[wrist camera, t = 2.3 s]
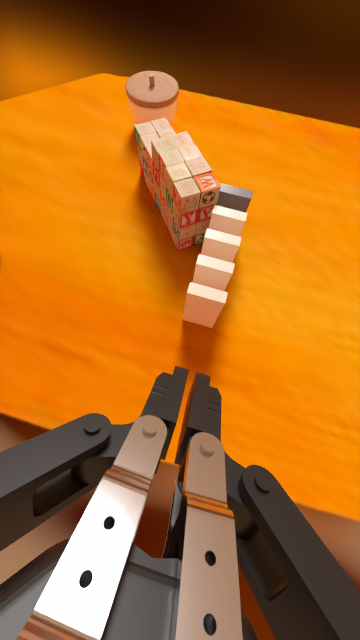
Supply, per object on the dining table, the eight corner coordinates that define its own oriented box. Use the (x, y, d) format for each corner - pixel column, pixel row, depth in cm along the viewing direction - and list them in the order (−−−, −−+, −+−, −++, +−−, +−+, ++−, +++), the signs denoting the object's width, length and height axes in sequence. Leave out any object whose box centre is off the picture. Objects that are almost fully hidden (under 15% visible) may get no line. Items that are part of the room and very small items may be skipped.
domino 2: (202, 254, 44) (211, 212, 34) (205, 247, 44) (214, 204, 35) (229, 261, 43) (245, 221, 34) (231, 254, 44) (247, 213, 35)
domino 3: (196, 274, 42) (204, 236, 33) (198, 267, 43) (207, 228, 33) (223, 282, 42) (239, 246, 33) (225, 274, 42) (241, 237, 33)
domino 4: (189, 296, 41) (195, 263, 31) (192, 288, 41) (199, 253, 32) (218, 304, 40) (232, 273, 31) (220, 296, 41) (235, 263, 32)
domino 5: (182, 319, 39) (186, 292, 30) (185, 311, 40) (190, 281, 30) (211, 328, 39) (225, 303, 30) (214, 319, 39) (227, 292, 30)
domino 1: (208, 235, 45) (218, 190, 36) (210, 228, 46) (221, 183, 36) (234, 242, 45) (251, 198, 36) (235, 235, 46) (252, 191, 36)
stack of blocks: (139, 172, 50) (130, 103, 39) (167, 165, 51) (166, 95, 40) (178, 252, 44) (181, 197, 32) (208, 242, 45) (222, 185, 33)
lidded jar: (123, 136, 54) (114, 83, 45) (141, 108, 57) (136, 54, 49) (168, 148, 53) (167, 97, 44) (183, 120, 57) (186, 67, 48)
